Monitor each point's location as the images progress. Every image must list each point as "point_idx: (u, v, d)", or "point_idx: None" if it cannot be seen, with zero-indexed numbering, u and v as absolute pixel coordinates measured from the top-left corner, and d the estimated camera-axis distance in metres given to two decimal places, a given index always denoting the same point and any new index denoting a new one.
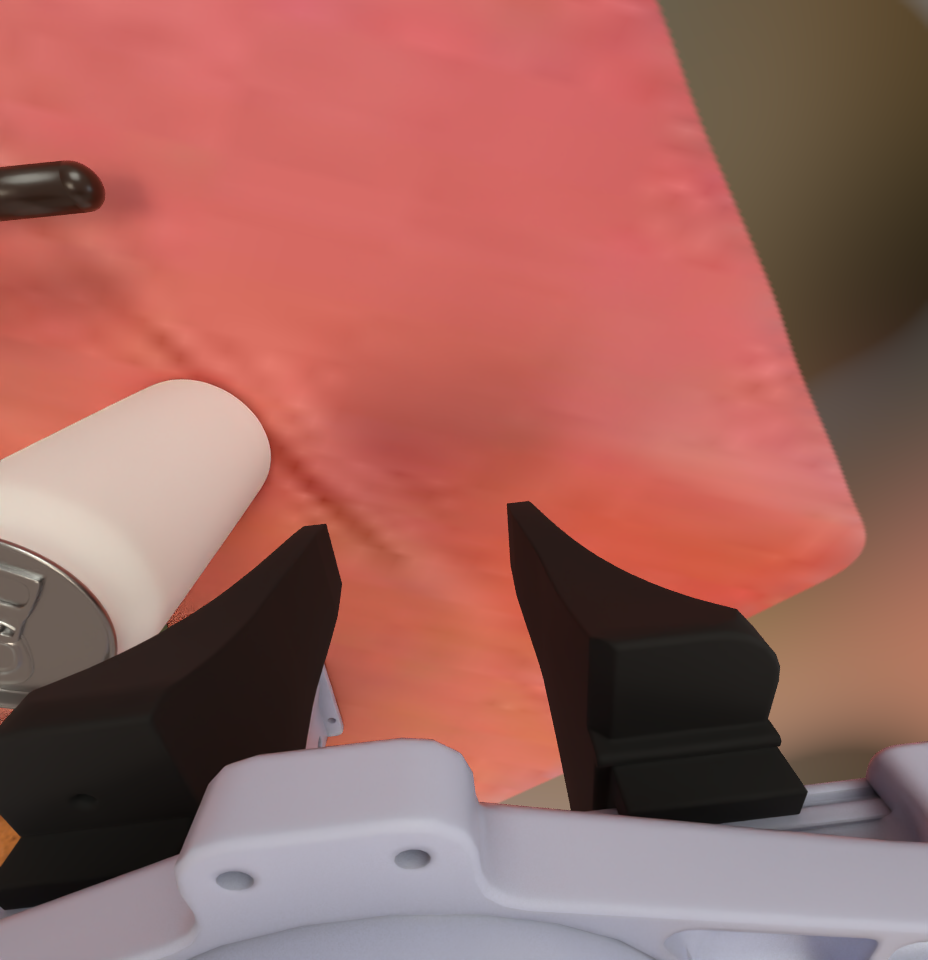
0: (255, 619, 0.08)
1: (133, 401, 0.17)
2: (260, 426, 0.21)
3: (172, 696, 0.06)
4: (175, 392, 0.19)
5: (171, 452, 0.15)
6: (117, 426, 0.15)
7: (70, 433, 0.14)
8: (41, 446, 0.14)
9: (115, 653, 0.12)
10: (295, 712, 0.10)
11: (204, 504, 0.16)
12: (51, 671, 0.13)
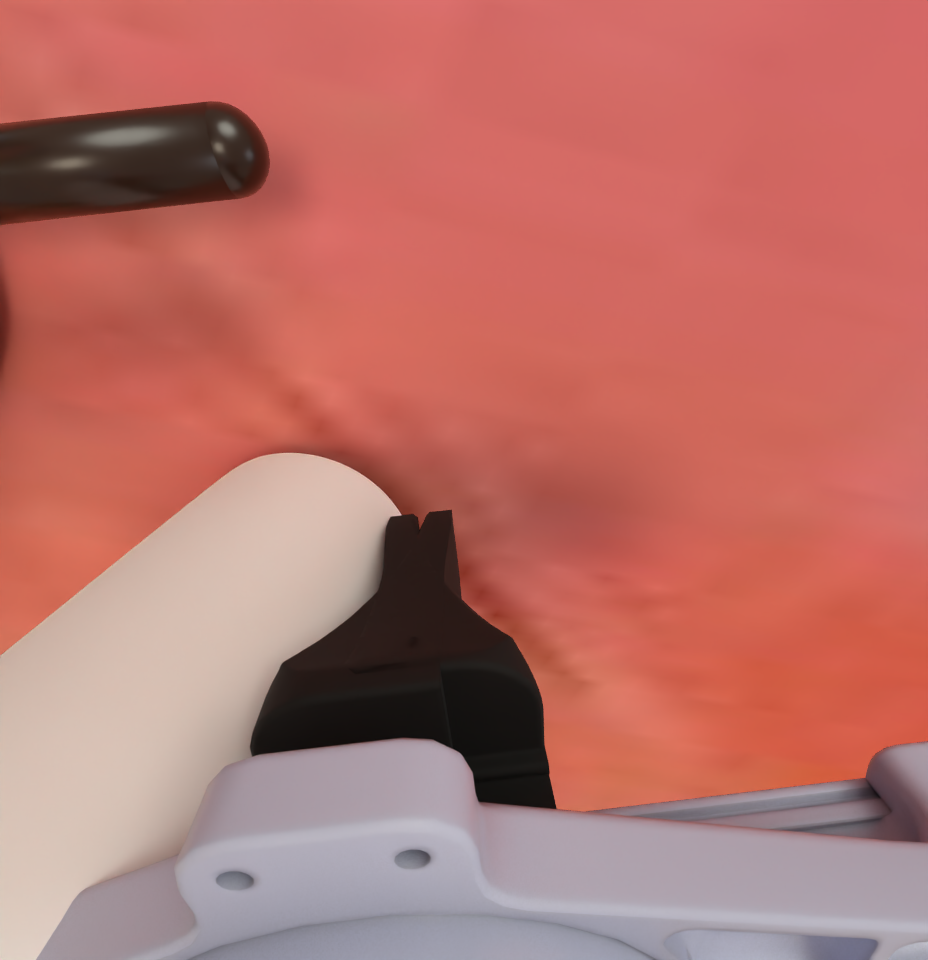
0: (444, 597, 0.08)
1: (205, 512, 0.10)
2: (399, 515, 0.13)
3: None
4: (271, 483, 0.11)
5: (270, 634, 0.08)
6: (167, 591, 0.08)
7: (77, 623, 0.07)
8: (5, 679, 0.06)
9: None
10: None
11: None
12: None
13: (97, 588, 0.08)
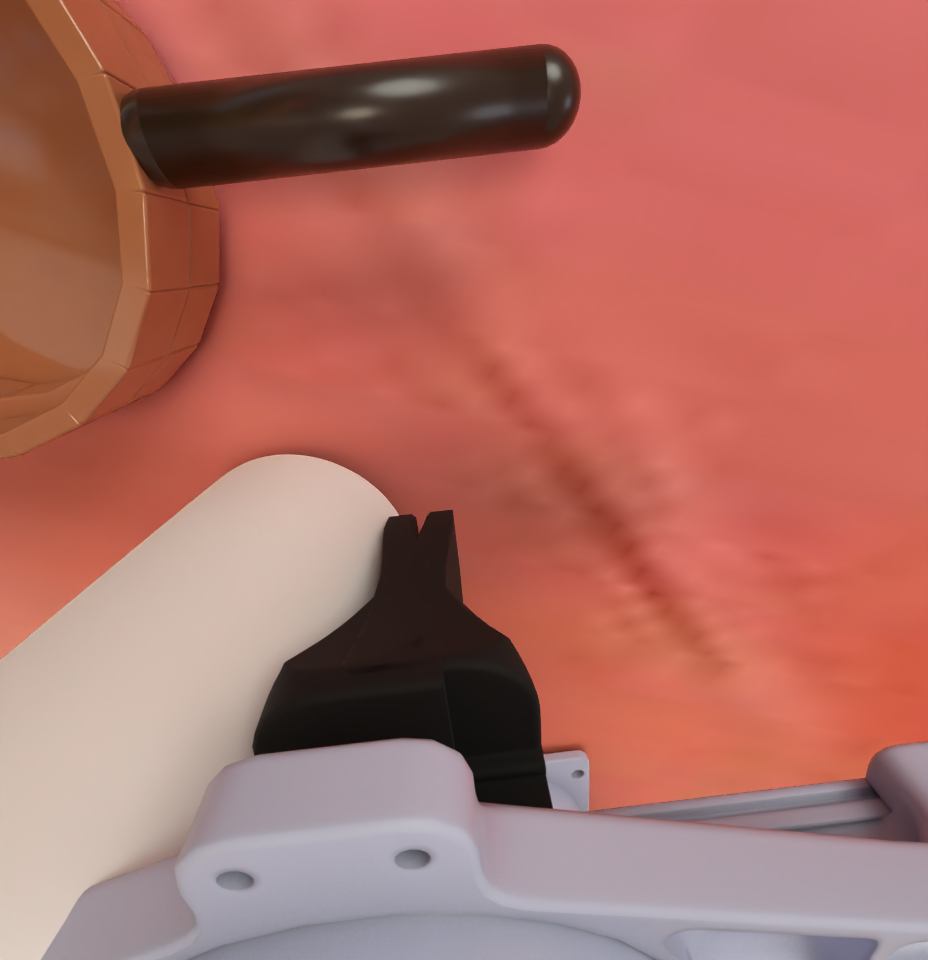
0: (446, 597, 0.08)
1: (202, 515, 0.10)
2: (396, 515, 0.13)
3: None
4: (268, 484, 0.11)
5: (271, 635, 0.08)
6: (168, 593, 0.08)
7: (76, 627, 0.07)
8: (5, 684, 0.06)
9: None
10: None
11: None
12: None
13: (95, 592, 0.08)
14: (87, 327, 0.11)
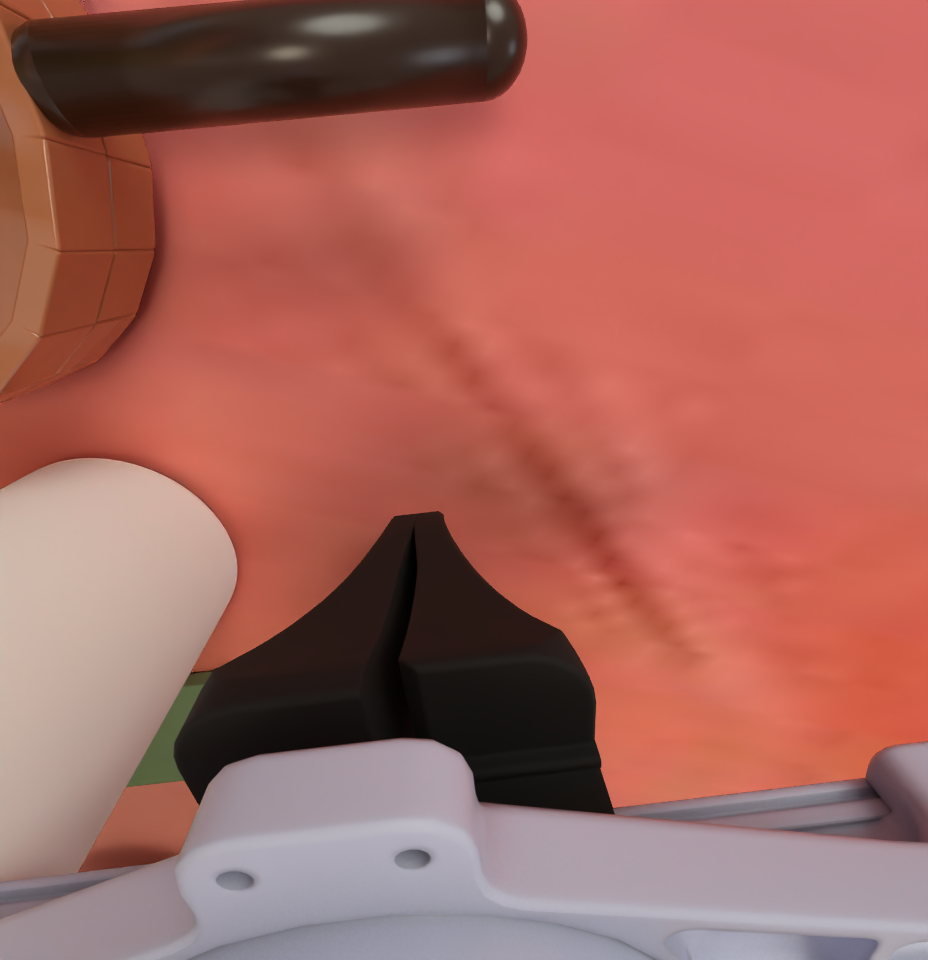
0: (392, 603, 0.08)
1: None
2: (216, 522, 0.14)
3: (366, 673, 0.06)
4: (57, 491, 0.11)
5: None
6: None
7: None
8: None
9: None
10: None
11: (74, 745, 0.08)
12: None
13: None
14: (15, 294, 0.11)
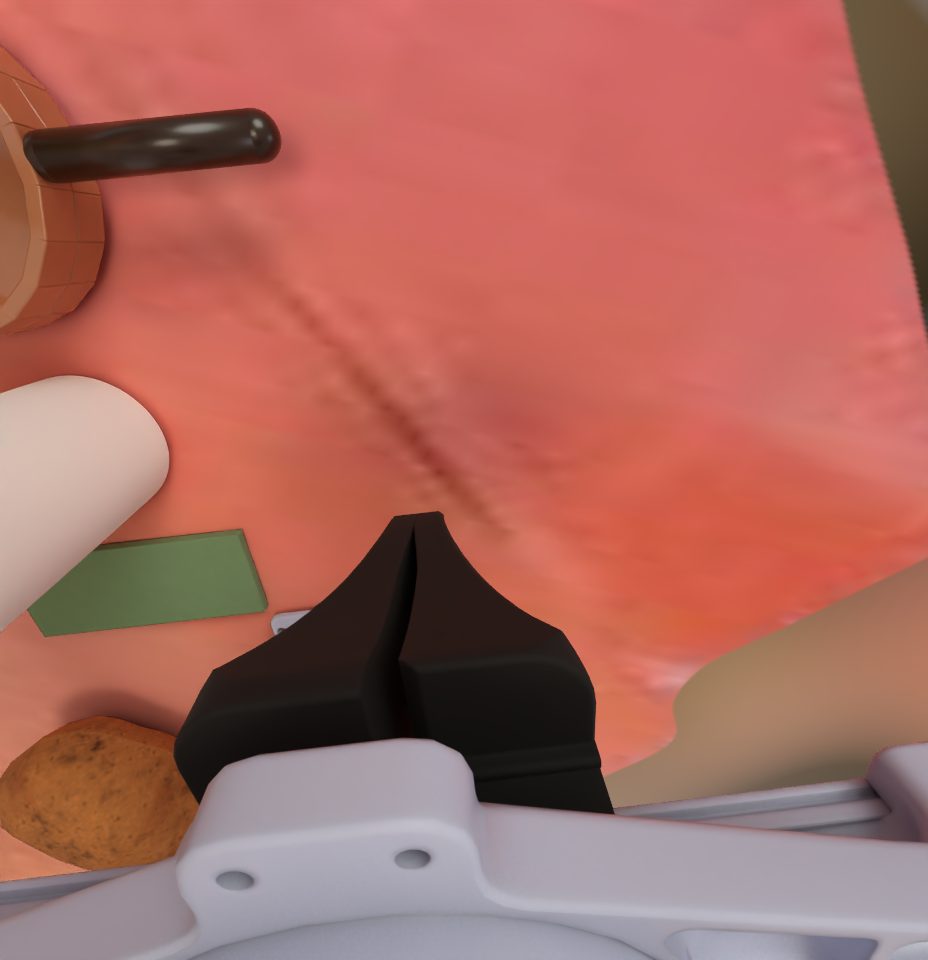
0: (392, 604, 0.08)
1: None
2: (152, 420, 0.21)
3: (366, 673, 0.06)
4: (48, 387, 0.18)
5: (16, 444, 0.15)
6: None
7: None
8: None
9: None
10: None
11: (54, 496, 0.15)
12: None
13: None
14: (23, 269, 0.18)
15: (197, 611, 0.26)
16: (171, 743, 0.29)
